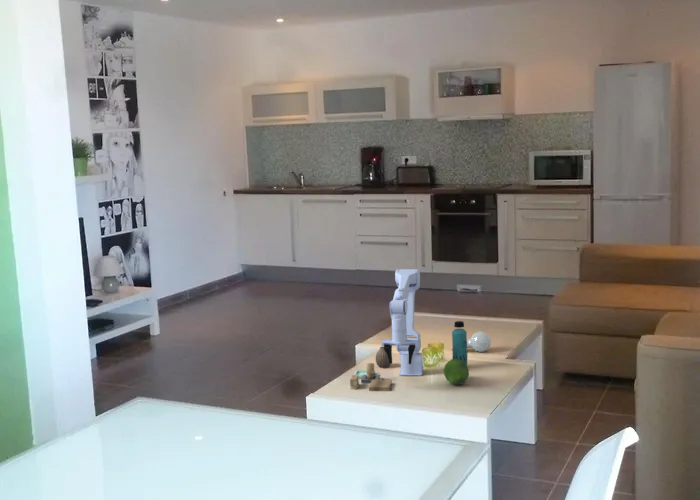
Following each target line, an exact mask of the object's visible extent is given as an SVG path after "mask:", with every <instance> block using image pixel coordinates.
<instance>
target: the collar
mask: <svg viewBox="0 0 700 500" xmlns="http://www.w3.org/2000/svg"><path fill="white" fill-rule="evenodd" d="M372 380H381V374H375V379H367V375H363V377H362V379H360V383H361V384H371V381H372Z"/></svg>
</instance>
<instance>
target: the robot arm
mask: <svg viewBox="0 0 700 500" xmlns="http://www.w3.org/2000/svg"><path fill="white" fill-rule="evenodd" d="M394 272H395V274H394V276H395V277H394V280H395V283H396V286H397V288H396V289H395V290H394V295H393V299H391V300H390V302H389V313H390V319H391V339H381V342H380V343H381V346H380V347H384V350H385V352H386V354H387V356H388V359H389V363H390V365H392V364H393V352H392V351H393V346H395V347H396V348H395V349H396V351H397V352H398V354H399V355H400V370H399V374H398V375H399V376H418V377H419V376H423V372H424V361H423V359H424V358H423V353H422V352H420V351H421V347H422V343H421V342H422V341H421V334H420V332H418V331H417V330H415V295H416V291H417V290H419V289H420V286H421V272H420V269H419V268H411V269H410V268H409V269H408V268H402V269H401V268H396V270H395V271H394Z"/></svg>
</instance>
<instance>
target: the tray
mask: <svg viewBox="0 0 700 500" xmlns="http://www.w3.org/2000/svg"><path fill="white" fill-rule="evenodd" d="M374 374H375V375H376V370H375V369H374ZM353 375H358V380H361V379H362V377H363V375H367V369H356V370H355V372H354V374H353Z"/></svg>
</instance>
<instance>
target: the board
mask: <svg viewBox="0 0 700 500" xmlns="http://www.w3.org/2000/svg"><path fill="white" fill-rule="evenodd" d="M392 382H393V380H392V379H380V380H372V381H371V383H369V386H368V391H369V392H390V389H391V387H392V385H393V383H392Z"/></svg>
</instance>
